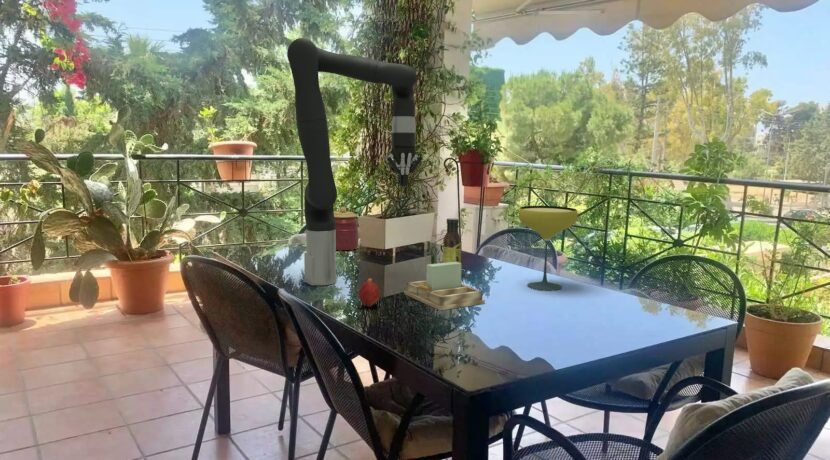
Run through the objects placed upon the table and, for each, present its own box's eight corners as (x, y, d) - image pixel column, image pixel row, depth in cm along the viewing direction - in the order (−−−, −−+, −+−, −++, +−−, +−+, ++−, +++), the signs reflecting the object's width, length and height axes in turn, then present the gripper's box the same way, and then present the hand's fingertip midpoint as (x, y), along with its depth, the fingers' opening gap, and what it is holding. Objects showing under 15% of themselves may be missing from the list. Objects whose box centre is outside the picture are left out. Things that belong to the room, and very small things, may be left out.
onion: (363, 310, 166) (363, 281, 165) (355, 305, 171) (355, 277, 170) (383, 308, 169) (383, 279, 168) (374, 303, 174) (374, 275, 173)
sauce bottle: (459, 279, 204) (460, 220, 202) (440, 278, 206) (441, 219, 203) (461, 275, 211) (463, 217, 208) (443, 274, 212) (445, 217, 209)
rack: (439, 310, 167) (440, 294, 167) (404, 294, 184) (404, 280, 184) (484, 303, 175) (485, 288, 174) (446, 288, 192) (446, 275, 191)
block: (431, 297, 176) (432, 266, 174) (426, 295, 178) (426, 264, 177) (460, 293, 181) (461, 263, 179) (455, 291, 183) (455, 261, 182)
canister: (323, 250, 254) (323, 208, 251) (332, 245, 267) (332, 204, 264) (354, 252, 252) (354, 209, 249) (362, 246, 265) (362, 205, 262)
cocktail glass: (584, 286, 197) (588, 209, 193) (554, 296, 184) (558, 213, 180) (535, 277, 209) (538, 204, 205) (504, 286, 196) (507, 208, 192)
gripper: (415, 131, 200) (415, 185, 203) (379, 131, 194) (379, 186, 196) (427, 131, 194) (426, 186, 197) (390, 131, 187) (390, 187, 190)
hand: (403, 186), depth 196 cm, fingers closed
